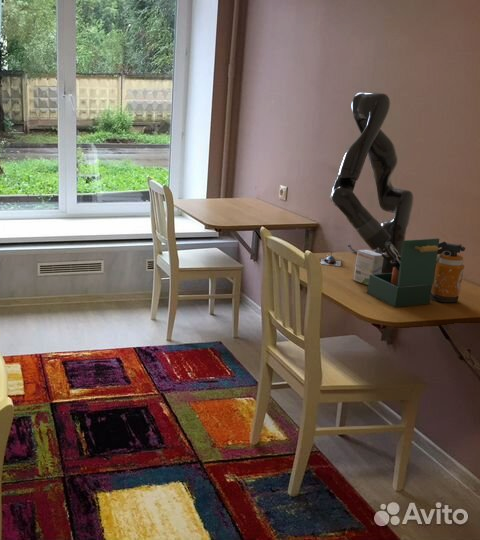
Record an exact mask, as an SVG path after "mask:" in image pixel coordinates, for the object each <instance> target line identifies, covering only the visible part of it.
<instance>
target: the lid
mask: <svg viewBox="0 0 480 540" xmlns="http://www.w3.org/2000/svg"><path fill="white" fill-rule="evenodd" d="M439 243H440V238H438V237H436V238H422V239H407V240H406V239H405V241H403V244H402V253H401V261H400V270H399V278H398V287H402V286H413V285H424V284H434V276H435V269H436V261H437V257H438V255H439V254H438V250H439V248H438V246H439ZM437 254H438V255H437Z"/></svg>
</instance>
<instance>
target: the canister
mask: <svg viewBox="0 0 480 540" xmlns="http://www.w3.org/2000/svg"><path fill="white" fill-rule="evenodd" d="M464 251H466V247H465V246H463V245H462V244H459V243H458V244H455V243H448V242H446V241H442V242H439V246H438V254H437V261H436V269H435V276H434V284H432V290H431V296H430V299H432V300H435V301H437V302H441V303H454V302H458V301H459V296H460V291H461V285H462V281H463V276H464V270H465V265H464V260H465V258H464V257H463V255H461V252H464Z"/></svg>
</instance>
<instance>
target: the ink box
mask: <svg viewBox="0 0 480 540" xmlns="http://www.w3.org/2000/svg"><path fill="white" fill-rule="evenodd" d="M356 252H357V253H356V258H355V268H354V274H353V281H355V282H358V283H361V284H363V285H365V286H368V284H369V277H370V275H371V274H381V272H382V264H383V258H384V257H382V255H381V254H379V253H376V252H375V251H374V250H370V249H358V250H356Z"/></svg>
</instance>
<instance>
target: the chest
mask: <svg viewBox="0 0 480 540" xmlns="http://www.w3.org/2000/svg"><path fill="white" fill-rule="evenodd" d="M391 277H392V273H383V274H371V275H370V277H369V284H368V285H367V292H366V293H368V294H369V295H371V296H373V297H375V298H377V299H379V300H380V301H382V302H384V303H386V304H388V305H390V306H392V307H394V308H399V307H408V306H418V305H430V300H431V297H430V296H431V290H432V284H424V285H413V286H404V287H397V286H395V285H393V284H391Z"/></svg>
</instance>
